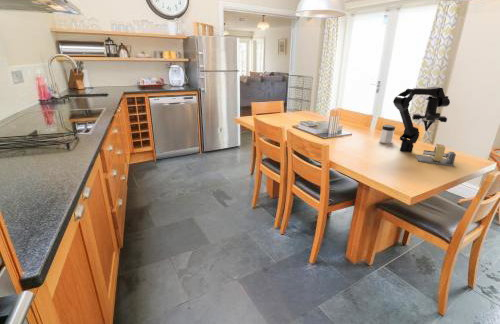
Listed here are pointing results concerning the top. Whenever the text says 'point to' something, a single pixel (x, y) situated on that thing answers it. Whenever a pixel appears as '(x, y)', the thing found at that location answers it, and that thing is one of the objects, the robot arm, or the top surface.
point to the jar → (387, 133)
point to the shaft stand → (427, 159)
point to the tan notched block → (438, 152)
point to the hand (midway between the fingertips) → (425, 130)
